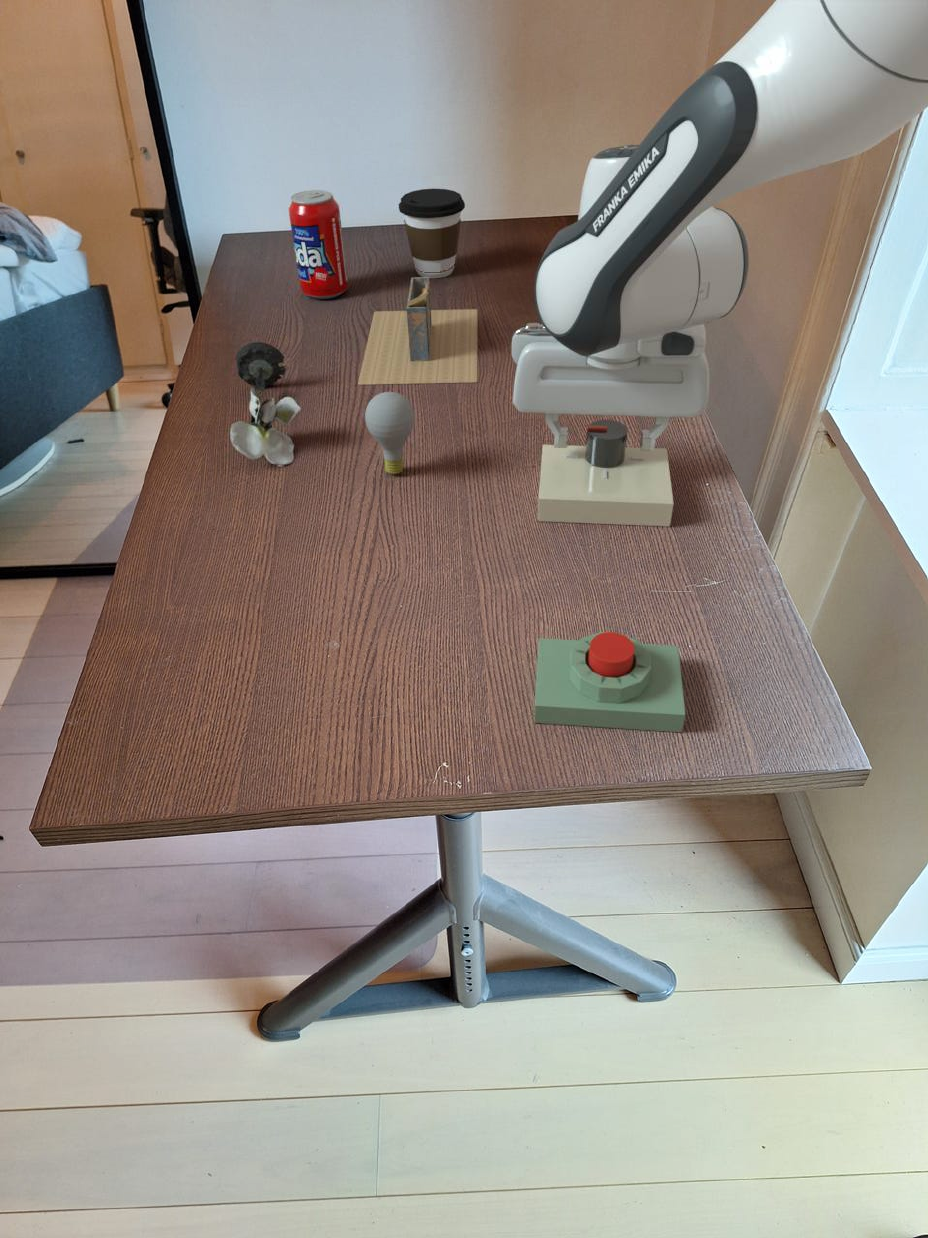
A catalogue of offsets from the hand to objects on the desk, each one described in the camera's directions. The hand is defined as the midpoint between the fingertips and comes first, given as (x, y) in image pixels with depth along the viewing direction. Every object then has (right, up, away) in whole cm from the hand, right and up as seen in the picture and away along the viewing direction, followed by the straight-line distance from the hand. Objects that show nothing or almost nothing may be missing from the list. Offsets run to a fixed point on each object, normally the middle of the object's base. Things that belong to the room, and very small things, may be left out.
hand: (603, 446), depth 94 cm
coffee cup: (-20, +41, +53) cm, 70 cm away
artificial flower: (-40, +6, +15) cm, 43 cm away
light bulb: (-23, -2, +6) cm, 24 cm away
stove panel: (0, -5, +1) cm, 5 cm away
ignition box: (-3, -25, -21) cm, 33 cm away
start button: (-3, -23, -24) cm, 33 cm away
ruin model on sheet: (-22, +21, +32) cm, 44 cm away
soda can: (-38, +35, +47) cm, 70 cm away
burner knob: (0, -1, +1) cm, 1 cm away
